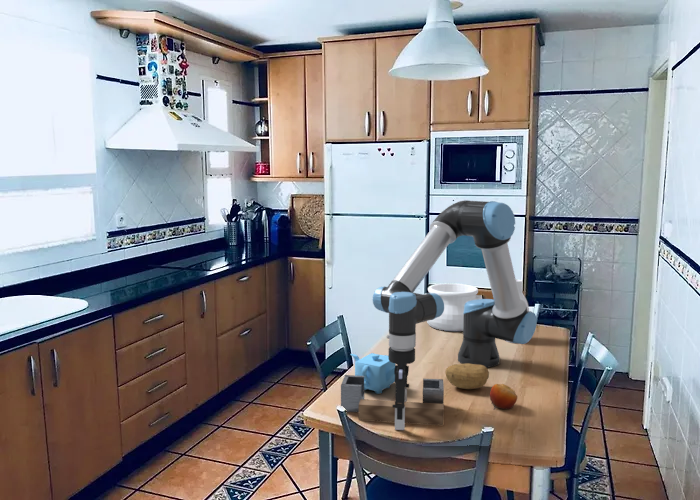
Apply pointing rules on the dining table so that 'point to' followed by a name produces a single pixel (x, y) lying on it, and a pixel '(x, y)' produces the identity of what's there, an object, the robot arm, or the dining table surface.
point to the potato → (467, 375)
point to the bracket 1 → (352, 392)
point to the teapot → (375, 371)
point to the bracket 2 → (433, 391)
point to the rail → (413, 412)
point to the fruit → (503, 396)
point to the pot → (452, 305)
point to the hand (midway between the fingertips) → (400, 419)
